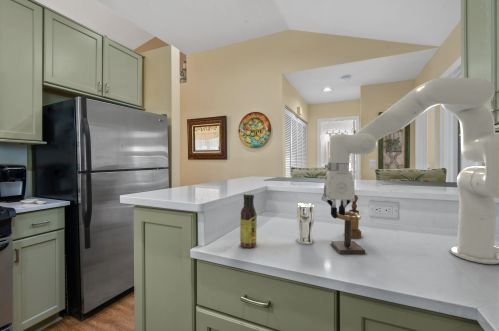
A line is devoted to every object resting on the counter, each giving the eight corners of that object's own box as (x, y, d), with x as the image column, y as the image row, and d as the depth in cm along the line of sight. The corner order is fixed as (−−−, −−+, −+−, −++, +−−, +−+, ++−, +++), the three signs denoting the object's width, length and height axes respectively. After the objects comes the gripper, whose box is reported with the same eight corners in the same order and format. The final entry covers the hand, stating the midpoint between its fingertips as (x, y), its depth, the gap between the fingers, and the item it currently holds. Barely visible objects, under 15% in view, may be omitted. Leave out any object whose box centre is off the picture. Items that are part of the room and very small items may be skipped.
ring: (353, 214, 96) (354, 210, 96) (365, 221, 87) (365, 216, 87) (330, 214, 96) (330, 210, 96) (339, 220, 87) (340, 216, 87)
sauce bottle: (254, 249, 91) (255, 196, 90) (238, 247, 92) (238, 195, 91) (257, 243, 98) (258, 193, 97) (242, 241, 99) (242, 192, 98)
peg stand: (353, 244, 96) (354, 215, 96) (365, 254, 88) (366, 222, 87) (331, 244, 96) (331, 215, 96) (340, 254, 87) (341, 222, 87)
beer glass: (293, 242, 98) (294, 205, 97) (298, 237, 104) (299, 202, 103) (311, 246, 95) (312, 207, 94) (315, 240, 101) (316, 204, 100)
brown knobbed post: (364, 238, 104) (365, 196, 103) (348, 238, 104) (349, 196, 103) (357, 233, 110) (358, 193, 109) (342, 233, 110) (344, 193, 110)
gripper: (321, 168, 86) (319, 220, 87) (365, 169, 87) (363, 220, 88) (314, 167, 94) (313, 214, 95) (355, 167, 94) (354, 215, 95)
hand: (337, 217), depth 91 cm, fingers closed on ring, 2 cm apart
